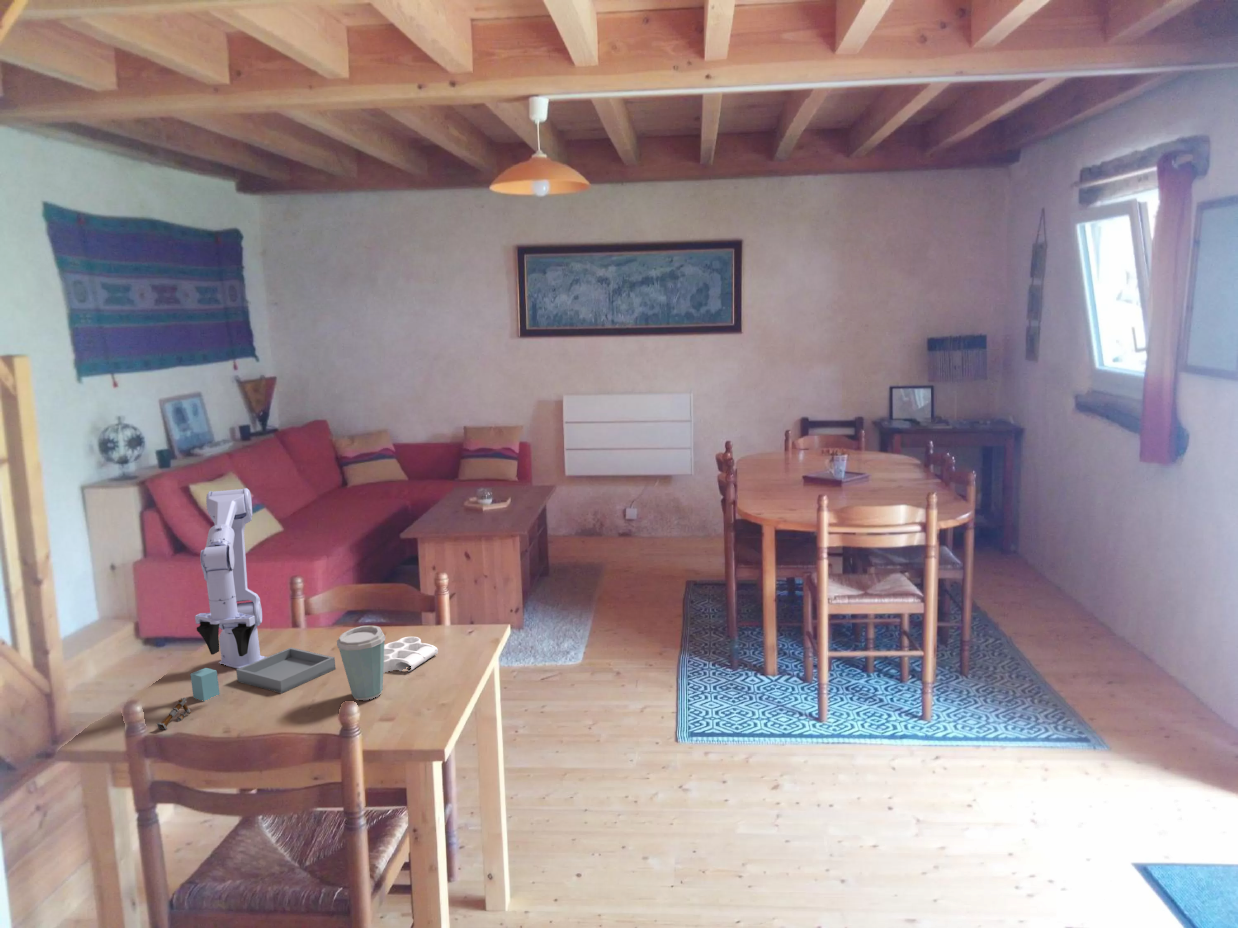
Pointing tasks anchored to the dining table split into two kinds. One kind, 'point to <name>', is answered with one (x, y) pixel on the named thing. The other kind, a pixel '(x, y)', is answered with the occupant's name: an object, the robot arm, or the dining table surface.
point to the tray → (285, 670)
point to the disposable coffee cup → (363, 660)
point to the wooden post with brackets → (173, 712)
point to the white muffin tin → (406, 653)
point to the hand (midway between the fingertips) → (229, 653)
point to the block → (205, 684)
